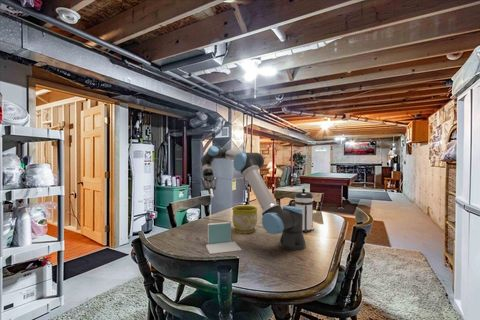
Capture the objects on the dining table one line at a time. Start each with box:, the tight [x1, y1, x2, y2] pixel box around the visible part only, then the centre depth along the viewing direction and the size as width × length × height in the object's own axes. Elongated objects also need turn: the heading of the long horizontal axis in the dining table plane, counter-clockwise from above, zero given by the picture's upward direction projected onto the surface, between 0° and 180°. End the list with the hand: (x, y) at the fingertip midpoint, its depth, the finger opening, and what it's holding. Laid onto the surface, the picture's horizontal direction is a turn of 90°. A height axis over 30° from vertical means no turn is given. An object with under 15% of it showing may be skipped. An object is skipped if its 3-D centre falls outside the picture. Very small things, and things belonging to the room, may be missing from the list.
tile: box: [207, 221, 232, 244], centre depth 152 cm, size 3×14×12 cm, turn 108°
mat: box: [205, 241, 242, 255], centre depth 143 cm, size 14×18×1 cm
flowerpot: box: [231, 205, 258, 234], centre depth 176 cm, size 18×18×16 cm
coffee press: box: [288, 188, 315, 234], centre depth 177 cm, size 17×16×30 cm
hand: (212, 197), depth 170 cm, fingers closed
